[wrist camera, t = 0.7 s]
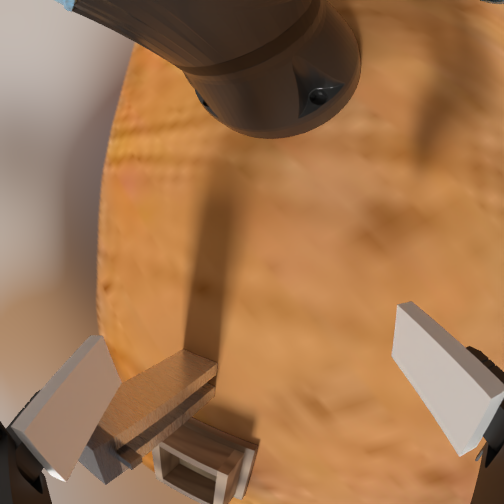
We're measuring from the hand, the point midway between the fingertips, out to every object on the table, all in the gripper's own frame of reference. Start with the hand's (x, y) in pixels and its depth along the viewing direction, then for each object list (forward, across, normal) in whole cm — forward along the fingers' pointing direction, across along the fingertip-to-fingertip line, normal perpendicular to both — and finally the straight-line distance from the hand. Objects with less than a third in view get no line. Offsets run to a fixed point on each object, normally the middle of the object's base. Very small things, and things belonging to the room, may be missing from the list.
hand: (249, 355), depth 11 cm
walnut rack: (+12, -8, -24) cm, 28 cm away
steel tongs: (+14, -7, -11) cm, 19 cm away
